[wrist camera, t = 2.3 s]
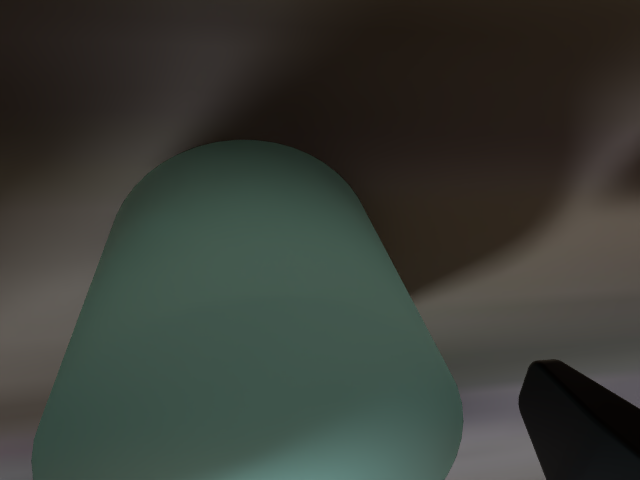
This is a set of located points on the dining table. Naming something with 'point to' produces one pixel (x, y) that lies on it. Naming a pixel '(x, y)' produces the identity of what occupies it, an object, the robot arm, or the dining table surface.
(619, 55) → the dining table surface
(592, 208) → the dining table surface
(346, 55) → the dining table surface
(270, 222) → the seafoam tapered dome
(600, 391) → the robot arm
